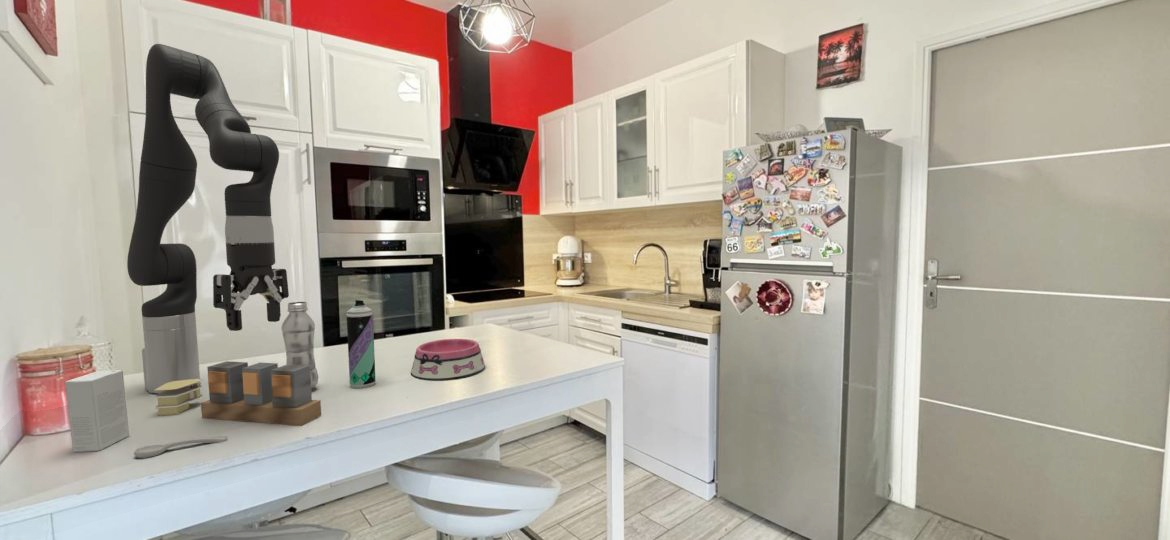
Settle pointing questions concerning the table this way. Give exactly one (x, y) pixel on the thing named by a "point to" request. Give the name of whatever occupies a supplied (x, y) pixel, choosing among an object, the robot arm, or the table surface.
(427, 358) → the dog bowl
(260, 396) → the grey block
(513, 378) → the table surface
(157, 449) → the spoon
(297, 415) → the rail
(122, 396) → the skincare box
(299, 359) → the plastic bottle
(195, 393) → the stacked layers on plate
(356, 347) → the spray can
